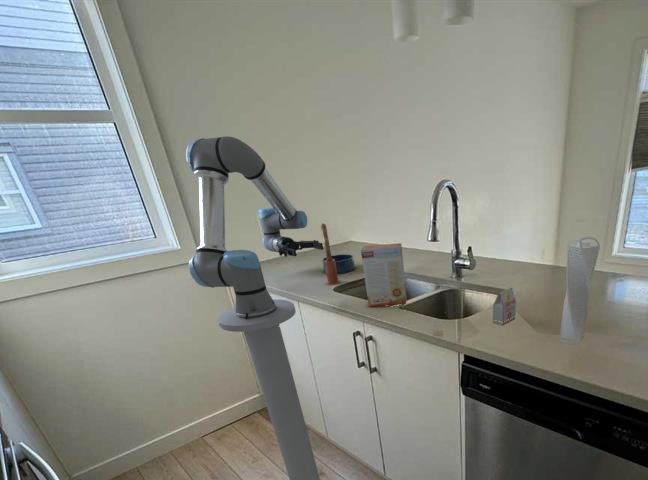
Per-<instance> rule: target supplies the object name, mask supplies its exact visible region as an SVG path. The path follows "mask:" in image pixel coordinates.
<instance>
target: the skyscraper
mask: <svg viewBox="0 0 648 480" xmlns="http://www.w3.org/2000/svg"><path fill="white" fill-rule="evenodd" d="M591 240H593V241H595V244H594V243H591V242H592V241H591ZM600 248H601V244H600V241H599V240H598V239H597V238H596V237H593V236H583V237H581V238H580V239H574V240H573V239H572V240H570V241H569V242H567V249H566V265H565V266H566V267H565V269H566V271H565V274H566V275H565V277H566V279H565V280H566V284H565V285H566V291H565V294H564V300H563V307H562V314H561V324H560V332H559V344H563V345H569V346H577V347H580V346H581V342H582V341H583V339H584V336H585V331H586V327H587V320H588V316H589V306H590V284H591V281H592V278H593V275H594V272H595V269H596V265H597V260H598V256H599V251H600ZM582 335H584V336H582ZM581 337H582V338H581ZM560 338H566V339H571V340H576V341H579V339H580V338H581V339H580V341H579V343H577V342H573V341H567V340H560Z"/></svg>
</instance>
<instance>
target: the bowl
mask: <svg viewBox="0 0 648 480" xmlns="http://www.w3.org/2000/svg"><path fill="white" fill-rule="evenodd" d="M331 256H332V259H335V263H336V269H337V274H338V275H339V274H345V273H349V272H352V271H353V270H355V268H356V265H355V258H354V255H353V254H347V253H345V254H344V253H342V254H334V255H331ZM325 260H327V257H326V256H325V257H323V258H322V259H321V262H322V267H323V268H322V269H323V271H324V273H326V268H325V262H324V261H325Z"/></svg>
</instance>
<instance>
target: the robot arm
mask: <svg viewBox="0 0 648 480" xmlns="http://www.w3.org/2000/svg"><path fill="white" fill-rule="evenodd" d="M185 154H186V155H185V158H186V162H187V164H189V165H188V167H189V168H190V170H191V171H192V172H193V175H194V177H195V178H196V179H197V180H198V197H199V199H198V202H199V203H198V204H199V241H200V242H199V246H198V247H196V248H195V255H194V256H191V258H190V259H189V261H188V270H189V273H190V275H191V278H192V279H193V280H194V281H195V283H196V284H198V285H199V286H200V287H204V288H212V289H214V288H232V289H233V293H234V294H235V307H236V309H235V312H236V315H237V317H239V318H245V319H247V318H257V317H261V316H265V315H268V314H270V313H272V312H274V311H275V310H276V304H275V302H274V301H273V300H274V299H273V297H272V296H271V294H270V293H269V291H268V290H267V286H266V282H265V278H264V274H263V271H262V266H261V265H262V264H261V262H260V260H259V257H258V255H257V254H256V252H254V251H252V250H249V249H248V250H247V249H232V250H228V249H227V248H226V210H225V209H226V208H225V207H226V206H225V205H226V203H225V202H226V201H225V186H226V185H227V184H228V183H229V177H230V176H229V174H230V173H232V174H233V173H239V174H241V175H242V176H243V177H244V178H245V179H246V180H247V181H250V182H251V183H252V184H253V185H254V187H255V188H256V189H257V190H258V192H259V193H260V194H261V195H262V196H263V197H264V198H265V200H266V201H267V202H268V203H269V204H270V205H271V207H264V208H260V209H258V215H259V221H260V225H261V228H262V232H263V237H262V243H261V244H262V246H263V247H264V249H265V250H268V251H269V252H274V253H278V255H279V256H280V257H282V256H284V257H286V258H287V257H288V256H292V257H297V256H298V255H297V251H301V250H303V249H314V250H321V251H322V250H324V243H323V242H319V240H316V239H314V240H300V241H299V240H298V241H296V240H294V239H293V238H291V237H288V236H282V235H281V231H282V230H300V229H304V228H306V227H307V226H308V216H307V214H306V212H305V211H303V210H297V209H296V207H294V205H293V204H292V202H291V201H290V200H289V198H288V197H287V195H286V194H285V193H284V192H283V190H282V188H281V187H280V186H279V184H278V183H277V182H276V180H275V179H274V178H273V176H272V175H271V174H270V172H269V171H268V170H267V168H266V162H265V161H264V160H263V157H261V156H260V155H259V153H258V152H256V150H255V149H254V148H252V146H250V145H248V144H247V143H246V142H245V141H242V140H241V139H239V138H237V137H234V136H230V135H229V136H228V135H226V136H225V135H224V136H220V137H209V138H203V137H202V138H199V139H198V138H197V139H195V140H192V141H191V142H189V143H188V145H187V147H186V152H185Z"/></svg>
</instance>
